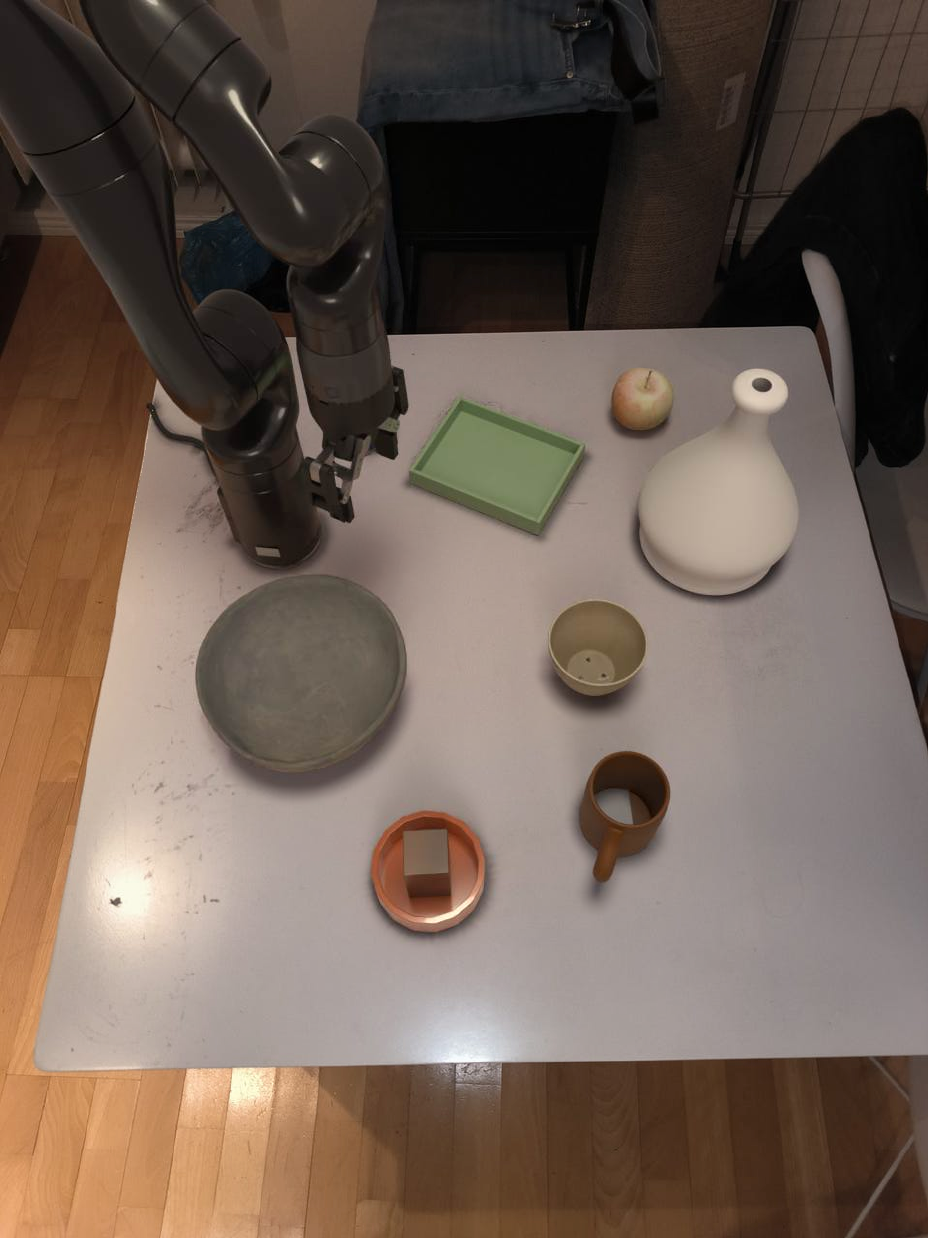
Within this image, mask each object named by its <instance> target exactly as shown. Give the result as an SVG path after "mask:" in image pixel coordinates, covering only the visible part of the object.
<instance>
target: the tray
mask: <svg viewBox="0 0 928 1238" xmlns="http://www.w3.org/2000/svg"><path fill="white" fill-rule="evenodd" d="M585 451H586V443H585V442H582V441H579V440H577V439H574V438H572V437H569V436H567V435H563V434H561V433H558V432H556V431H553V430H550V429H548V428H545V427H542V426H540V425H538V424H535V423H533V422H529V421H526V420H524V419H521V418H518V417H516V416H514V415H511V414H508V413H505V412H504V411H500V410H497V409H495V408H493V407H490V406H487V405H485V404H482V403H480V402H477V401H474V400H471V399H469V398H466V397H464V396H461V395H459V396H458V397H457V399H456V400H455V401H454V403H453V404H452V406H451V407H450V409H449V411H448V412H447V413H446V414H445V416H444V418H443V419H442V421H441V422H440V423H439V425H438V426H437V428H436V429H435V431H434V432H433V434H432V436H431V437H430V438H429V440H428V441H427V442H426V444H425V446H424V447H423V449H422V450H421V451H420V452H419V455H418V456H417V457H416V459H415V460H414V462H412V465H411V466H410V468H409V469H408V478H409V483H410V484H411V485H413V486H415V487H419V488H421V489H423V490H425V491H428V492H431V493H432V494H436V495H438V496H440V497H443V498H445V499H447V500H448V499H449V500H450V501H453V502H455V503H458V504H461V505H463V506H465V507H467V508H470V509H472V510H475V511H477V512H480V513H481V514H484V515H486V516H490V517H492V518H494V519H497V520H500V521H501V522H504V523H506V524H509V525H511V526H514V527H515V528H516V527H517V528H519V529H521V530H524V531H526V532H529V533H530V534H533V535H536V536H540V534H541V532H542V530H543V529H544V527H545V525H546V523H547V522H548V520H549V518H550V516H551V515H552V513H553V511H554V510H555V508H556V506H557V504H558V502H559V501H560V499H561V497H562V495H563V494H564V492H565V490H566V488H567V487H568V485H569V483H570V481H572V478H573V476H574V475H575V473H576V471H577V470H578V467H579V466H580V465H581V463H582V461H583V460H584V457H585Z"/></svg>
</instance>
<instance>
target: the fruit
mask: <svg viewBox="0 0 928 1238" xmlns="http://www.w3.org/2000/svg"><path fill="white" fill-rule="evenodd" d="M610 398H611V400H610V402H611V410H612V413H613V416H614V418H615V419H616V420H617V422H618V423H619V424H621V426H623V427H625V428H627V429H631V430H634V431H635V430H636V431H646V430H650V429H653V428H655V427H656V426H658V425H660V424H661V423H663V422H664V421H665V420H666V419H667V418H668V416H669V415H670V413H671V411H672V410H673V407H674V402H675V389H674V386H673V385H672V383H671V381H670V379H669V378H668V377H667V376H666V375H665V374H664V373H662V372H661V371H659V370H656V369H652V368H647V367H634V368H631V369H628V370H626V371H624V372H623V373H622V374H621V375H620V376H619V377H618V379H616V382H615V383H614V386H613V389H612V392H611V397H610Z"/></svg>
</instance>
